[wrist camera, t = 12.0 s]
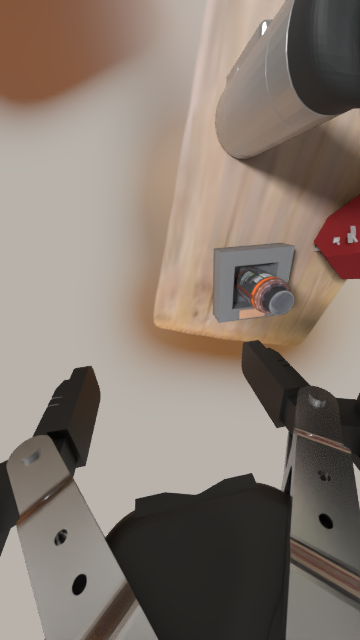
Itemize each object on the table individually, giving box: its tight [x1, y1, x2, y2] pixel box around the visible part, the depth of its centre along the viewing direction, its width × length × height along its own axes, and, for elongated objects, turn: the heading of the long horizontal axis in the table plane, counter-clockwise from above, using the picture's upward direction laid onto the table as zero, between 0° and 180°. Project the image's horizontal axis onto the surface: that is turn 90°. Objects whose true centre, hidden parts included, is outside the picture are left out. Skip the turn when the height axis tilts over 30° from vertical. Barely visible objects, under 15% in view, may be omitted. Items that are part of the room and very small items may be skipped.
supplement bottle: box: [235, 267, 294, 315], centre depth 36 cm, size 6×6×11 cm
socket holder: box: [213, 243, 295, 323], centre depth 40 cm, size 13×13×4 cm
